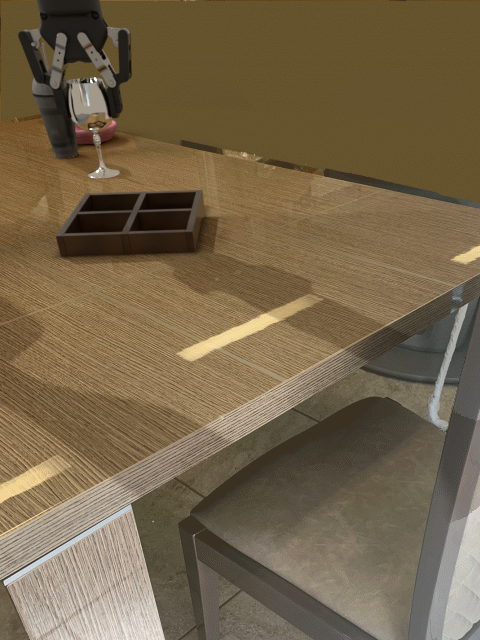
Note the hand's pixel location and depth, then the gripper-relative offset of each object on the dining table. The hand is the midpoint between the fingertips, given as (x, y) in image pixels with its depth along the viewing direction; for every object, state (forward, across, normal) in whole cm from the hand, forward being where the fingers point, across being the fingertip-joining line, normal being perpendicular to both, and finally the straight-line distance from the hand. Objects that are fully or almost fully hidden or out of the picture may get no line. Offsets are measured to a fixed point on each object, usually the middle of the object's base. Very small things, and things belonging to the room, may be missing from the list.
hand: (92, 117), depth 88 cm
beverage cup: (+16, -18, +44) cm, 50 cm away
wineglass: (+8, 0, 0) cm, 8 cm away
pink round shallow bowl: (+16, -16, +57) cm, 61 cm away
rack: (+16, +4, -4) cm, 17 cm away
